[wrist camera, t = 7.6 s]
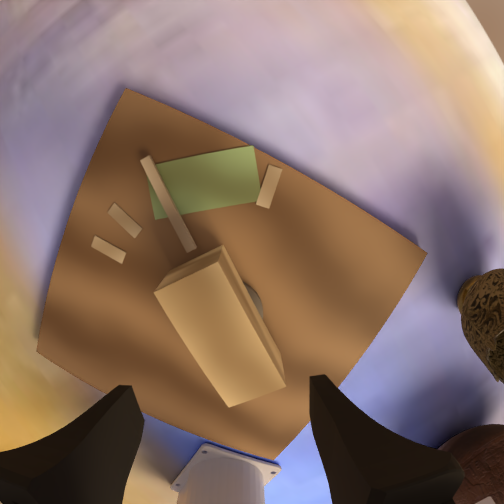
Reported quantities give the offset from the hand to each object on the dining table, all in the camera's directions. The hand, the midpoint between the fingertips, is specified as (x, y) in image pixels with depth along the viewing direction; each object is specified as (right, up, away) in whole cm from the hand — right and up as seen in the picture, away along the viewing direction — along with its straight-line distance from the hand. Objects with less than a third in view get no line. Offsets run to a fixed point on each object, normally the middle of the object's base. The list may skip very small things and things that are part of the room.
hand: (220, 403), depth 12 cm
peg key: (-2, +5, +8) cm, 9 cm away
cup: (+19, +3, +10) cm, 22 cm away
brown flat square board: (-2, +2, +10) cm, 10 cm away
